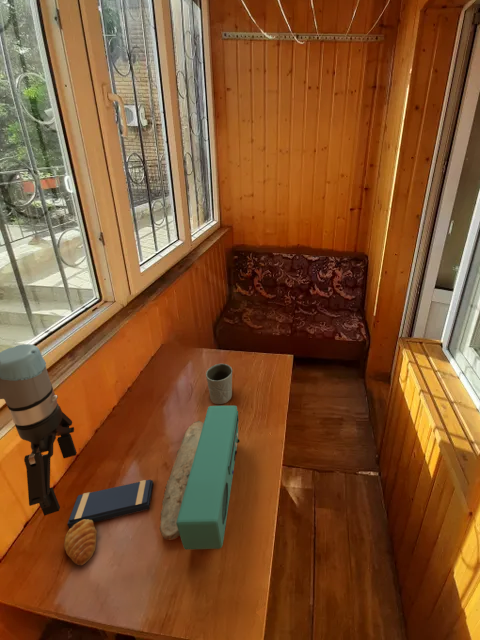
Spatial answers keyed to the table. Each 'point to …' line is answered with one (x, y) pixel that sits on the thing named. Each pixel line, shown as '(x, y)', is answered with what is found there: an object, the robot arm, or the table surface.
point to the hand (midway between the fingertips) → (62, 481)
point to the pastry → (81, 541)
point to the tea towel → (112, 502)
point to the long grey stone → (179, 481)
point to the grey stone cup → (220, 383)
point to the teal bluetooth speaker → (210, 481)
